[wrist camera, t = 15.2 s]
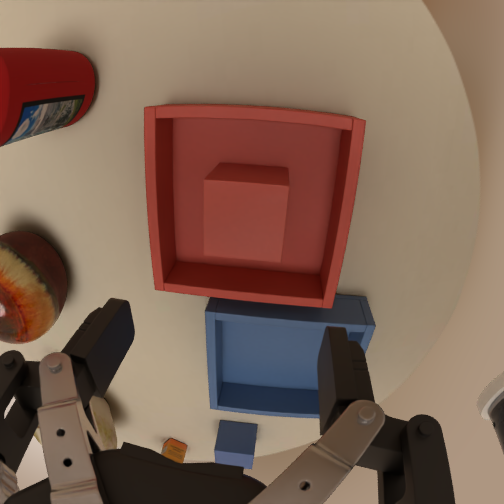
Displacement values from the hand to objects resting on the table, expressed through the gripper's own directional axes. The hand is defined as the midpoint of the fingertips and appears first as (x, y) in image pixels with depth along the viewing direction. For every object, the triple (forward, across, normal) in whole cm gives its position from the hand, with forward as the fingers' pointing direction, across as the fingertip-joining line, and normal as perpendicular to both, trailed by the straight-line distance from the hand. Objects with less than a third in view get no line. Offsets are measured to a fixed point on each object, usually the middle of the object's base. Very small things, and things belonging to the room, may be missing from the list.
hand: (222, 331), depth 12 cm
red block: (+13, 0, -1) cm, 13 cm away
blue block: (+14, 0, +32) cm, 35 cm away
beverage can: (+14, +16, -10) cm, 24 cm away
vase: (+14, +23, +8) cm, 28 cm away
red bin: (+14, 0, -1) cm, 14 cm away
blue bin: (+14, -4, +14) cm, 20 cm away
